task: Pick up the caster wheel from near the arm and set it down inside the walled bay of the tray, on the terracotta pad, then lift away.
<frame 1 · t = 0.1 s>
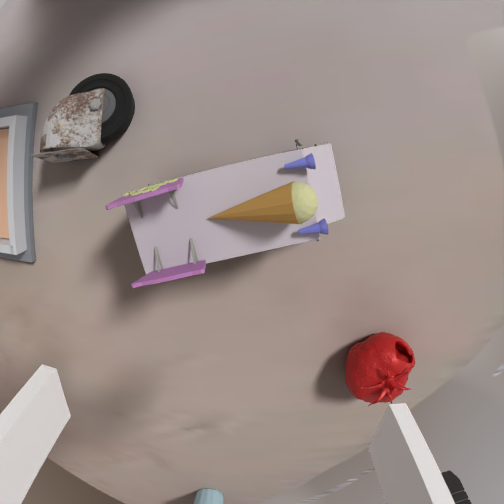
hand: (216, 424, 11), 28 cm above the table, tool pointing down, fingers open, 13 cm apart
toy vehicle: (245, 194, 36), on the table
cup: (210, 493, 53), on the table
pomegranate: (372, 354, 43), on the table
caster wheel: (96, 118, 34), on the table
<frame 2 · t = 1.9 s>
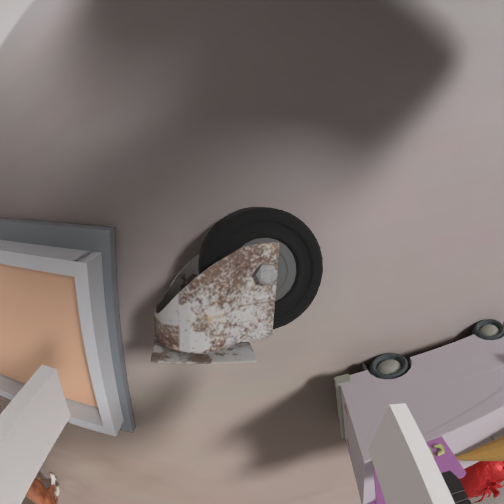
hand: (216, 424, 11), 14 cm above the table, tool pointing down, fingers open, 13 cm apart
tray: (30, 325, 27), on the table
toy vehicle: (425, 366, 27), on the table
pomegranate: (474, 456, 34), on the table
bull figurine: (38, 462, 36), on the table
caster wheel: (237, 265, 25), on the table
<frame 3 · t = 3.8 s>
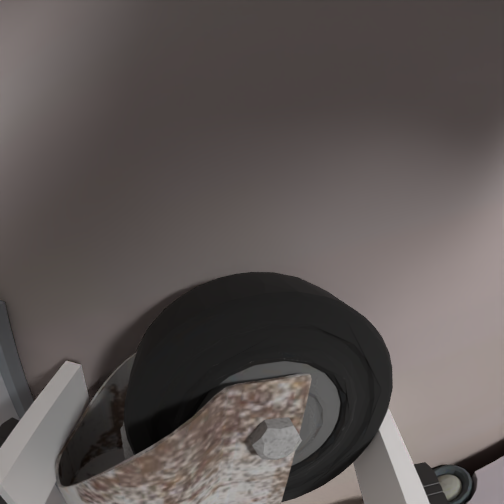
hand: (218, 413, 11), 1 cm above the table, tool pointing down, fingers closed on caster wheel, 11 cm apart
toy vehicle: (482, 462, 15), on the table
caster wheel: (216, 374, 12), on the table, touching gripper
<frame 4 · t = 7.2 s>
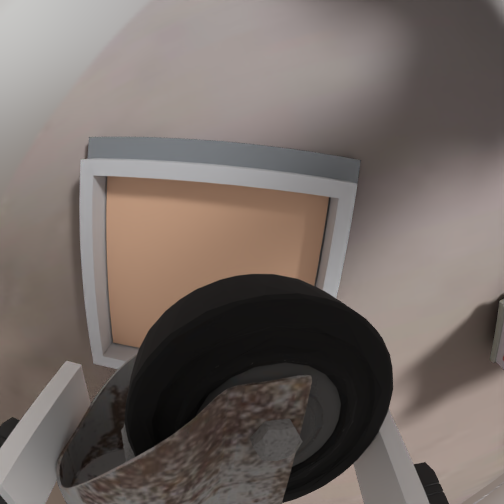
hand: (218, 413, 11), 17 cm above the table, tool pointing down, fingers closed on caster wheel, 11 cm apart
tray: (208, 274, 28), on the table
caster wheel: (216, 375, 12), point 16 cm above the table, touching gripper
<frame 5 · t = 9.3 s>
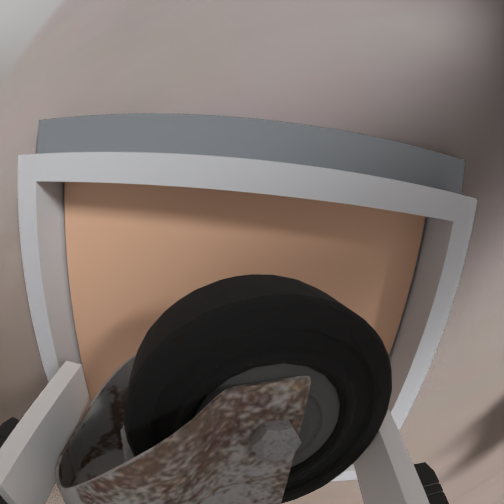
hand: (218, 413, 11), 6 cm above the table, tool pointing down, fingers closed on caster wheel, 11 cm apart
tray: (230, 334, 17), on the table
caster wheel: (215, 375, 12), point 5 cm above the table, touching gripper
when the fingers open (4 cm above the table, at t = 10.9 s): caster wheel drops 2 cm, resting on tray.
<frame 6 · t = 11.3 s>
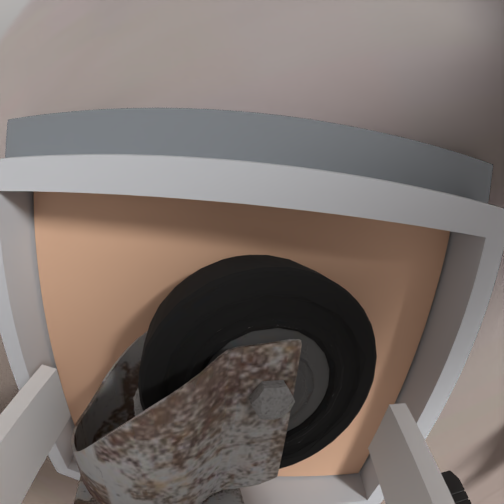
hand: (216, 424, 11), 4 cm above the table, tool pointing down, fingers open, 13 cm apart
tray: (225, 362, 15), on the table
caster wheel: (218, 350, 13), point 1 cm above the table, touching tray
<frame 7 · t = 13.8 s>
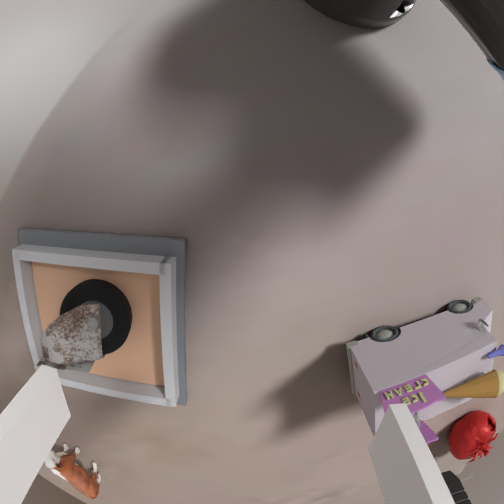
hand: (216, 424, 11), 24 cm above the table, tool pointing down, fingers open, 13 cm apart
tray: (99, 320, 36), on the table
toy vehicle: (412, 337, 38), on the table
pomegranate: (464, 424, 44), on the table
bull figurine: (80, 452, 44), on the table
caster wheel: (92, 312, 35), point 1 cm above the table, touching tray
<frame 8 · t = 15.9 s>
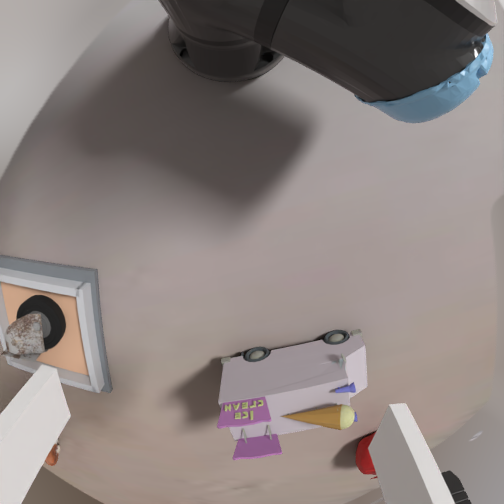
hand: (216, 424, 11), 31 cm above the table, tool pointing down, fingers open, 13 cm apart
tray: (47, 323, 45), on the table
toy vehicle: (294, 358, 46), on the table
pomegranate: (375, 440, 52), on the table
bull figurine: (45, 427, 53), on the table
caster wheel: (41, 317, 43), point 1 cm above the table, touching tray
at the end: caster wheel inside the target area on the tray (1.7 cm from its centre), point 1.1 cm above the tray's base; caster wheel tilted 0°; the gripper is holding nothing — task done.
